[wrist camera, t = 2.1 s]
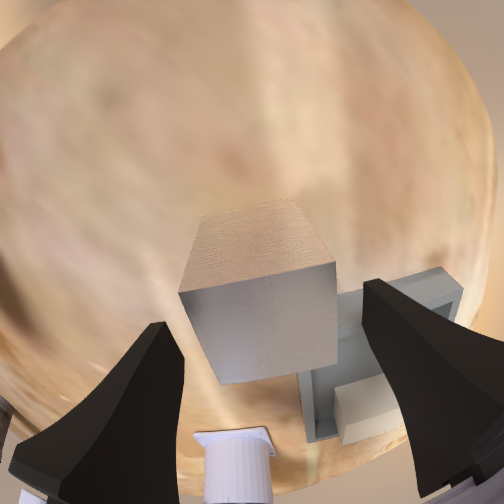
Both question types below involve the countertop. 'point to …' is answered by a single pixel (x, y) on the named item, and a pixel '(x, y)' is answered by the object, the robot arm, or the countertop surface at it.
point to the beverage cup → (4, 421)
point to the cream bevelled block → (365, 409)
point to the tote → (365, 347)
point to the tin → (261, 293)
